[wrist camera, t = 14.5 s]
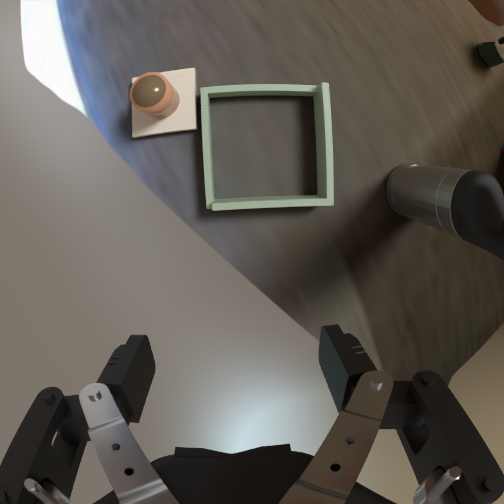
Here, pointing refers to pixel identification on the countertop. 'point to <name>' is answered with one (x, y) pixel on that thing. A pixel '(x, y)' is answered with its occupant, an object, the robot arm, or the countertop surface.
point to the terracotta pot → (154, 95)
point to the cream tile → (180, 118)
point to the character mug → (493, 51)
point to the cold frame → (322, 146)
